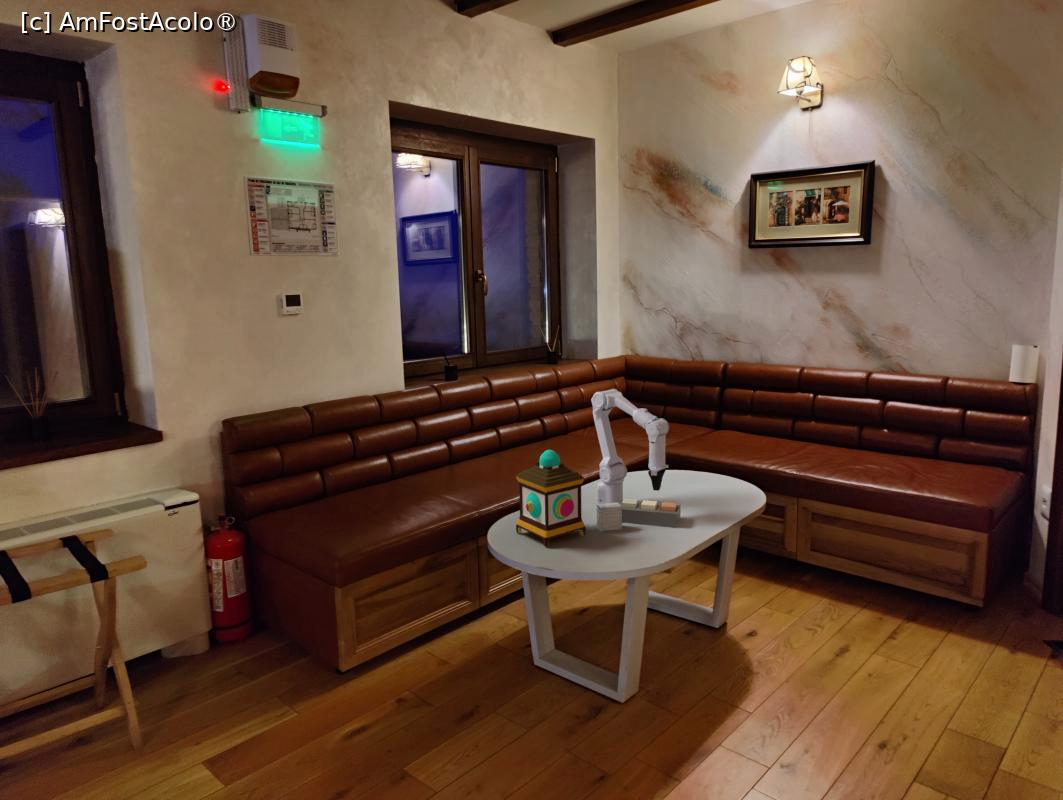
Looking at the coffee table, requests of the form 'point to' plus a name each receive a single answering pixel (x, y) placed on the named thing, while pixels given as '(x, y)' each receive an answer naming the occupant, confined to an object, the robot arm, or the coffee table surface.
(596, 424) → the robot arm
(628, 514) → the key panel
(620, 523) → the medicine box
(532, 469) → the decorative lantern
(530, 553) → the coffee table surface
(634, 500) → the sage key
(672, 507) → the terracotta key
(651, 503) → the cream key
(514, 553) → the coffee table surface
